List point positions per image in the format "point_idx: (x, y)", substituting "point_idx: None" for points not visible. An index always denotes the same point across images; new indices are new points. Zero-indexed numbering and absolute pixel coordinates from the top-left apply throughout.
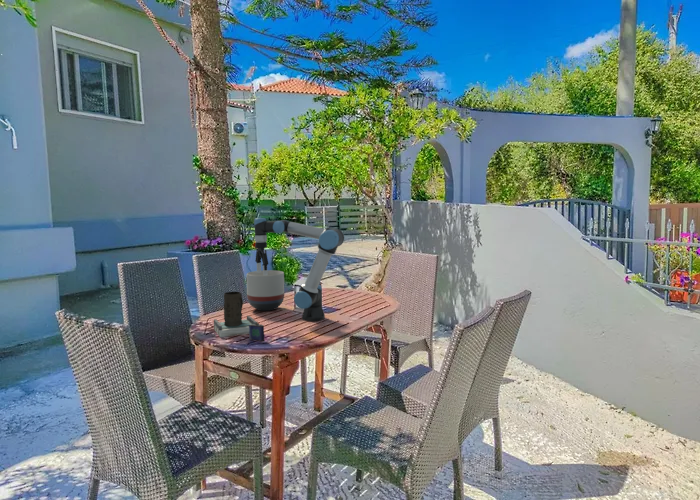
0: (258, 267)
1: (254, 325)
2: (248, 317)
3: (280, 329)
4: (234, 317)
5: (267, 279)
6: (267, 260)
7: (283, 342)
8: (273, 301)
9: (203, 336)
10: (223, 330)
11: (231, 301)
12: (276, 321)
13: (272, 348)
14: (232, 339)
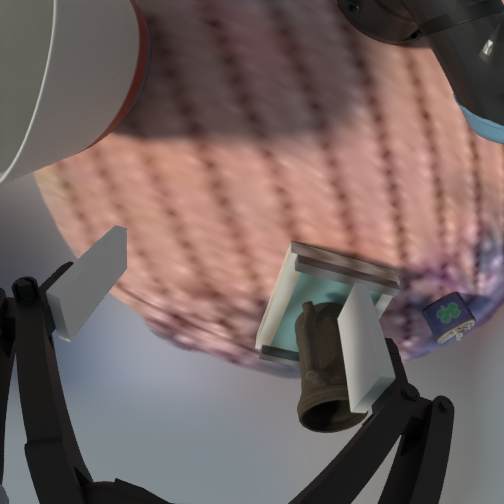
0: (96, 290)
1: (453, 335)
2: (322, 277)
3: (424, 194)
4: None
5: (65, 85)
6: (446, 448)
7: (500, 267)
8: (148, 56)
9: None
10: None
11: None
12: (319, 130)
13: (499, 305)
14: None
